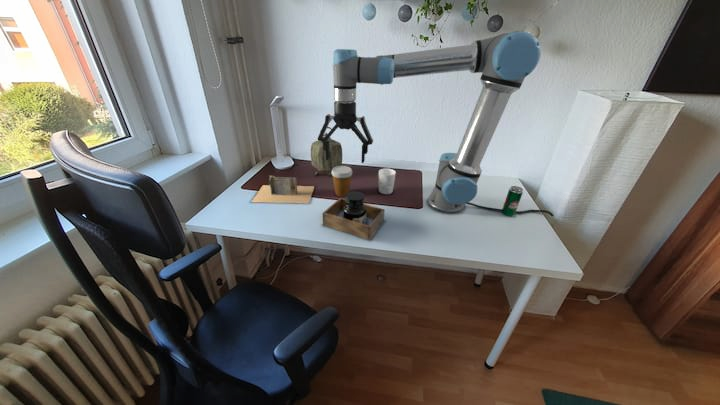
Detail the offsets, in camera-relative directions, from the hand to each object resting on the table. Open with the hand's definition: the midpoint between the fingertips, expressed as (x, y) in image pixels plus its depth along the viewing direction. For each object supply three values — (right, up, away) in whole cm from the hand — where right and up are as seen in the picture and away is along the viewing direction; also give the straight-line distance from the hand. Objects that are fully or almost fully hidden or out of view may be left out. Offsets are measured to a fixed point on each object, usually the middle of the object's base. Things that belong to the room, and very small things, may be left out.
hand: (345, 160), depth 103 cm
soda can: (+68, -21, +12) cm, 72 cm away
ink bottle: (+3, -24, +3) cm, 25 cm away
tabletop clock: (-11, -1, +42) cm, 43 cm away
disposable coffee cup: (-3, -12, +24) cm, 27 cm away
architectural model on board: (-29, -12, +22) cm, 39 cm away
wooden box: (+3, -24, +3) cm, 24 cm away
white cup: (+18, -11, +27) cm, 34 cm away
